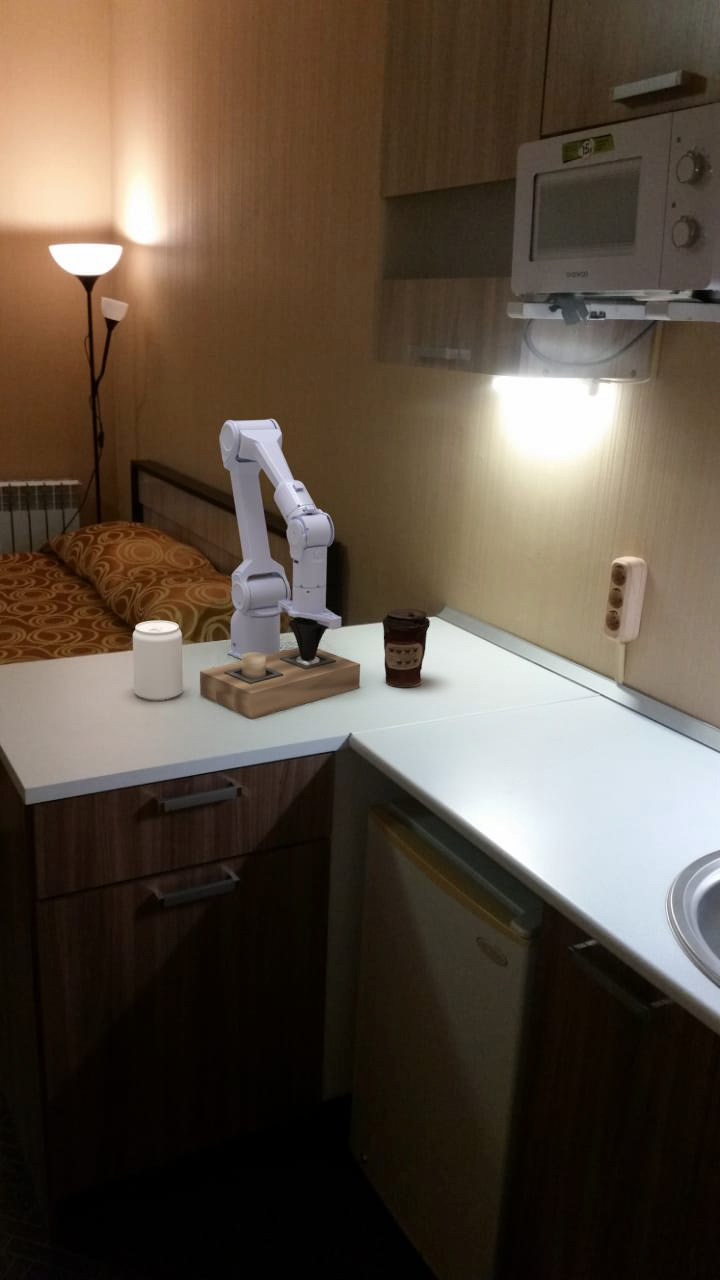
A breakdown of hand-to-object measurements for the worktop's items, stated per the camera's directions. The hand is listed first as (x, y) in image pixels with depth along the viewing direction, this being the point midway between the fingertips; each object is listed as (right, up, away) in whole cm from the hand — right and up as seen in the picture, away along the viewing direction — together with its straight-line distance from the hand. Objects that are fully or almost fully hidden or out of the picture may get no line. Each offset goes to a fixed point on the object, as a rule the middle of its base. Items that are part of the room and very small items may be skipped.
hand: (308, 659), depth 190 cm
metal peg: (0, -4, +1) cm, 5 cm away
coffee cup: (+17, -4, +4) cm, 18 cm away
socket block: (-5, -5, -3) cm, 8 cm away
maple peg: (-9, -4, -7) cm, 12 cm away
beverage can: (-25, -6, -6) cm, 26 cm away
